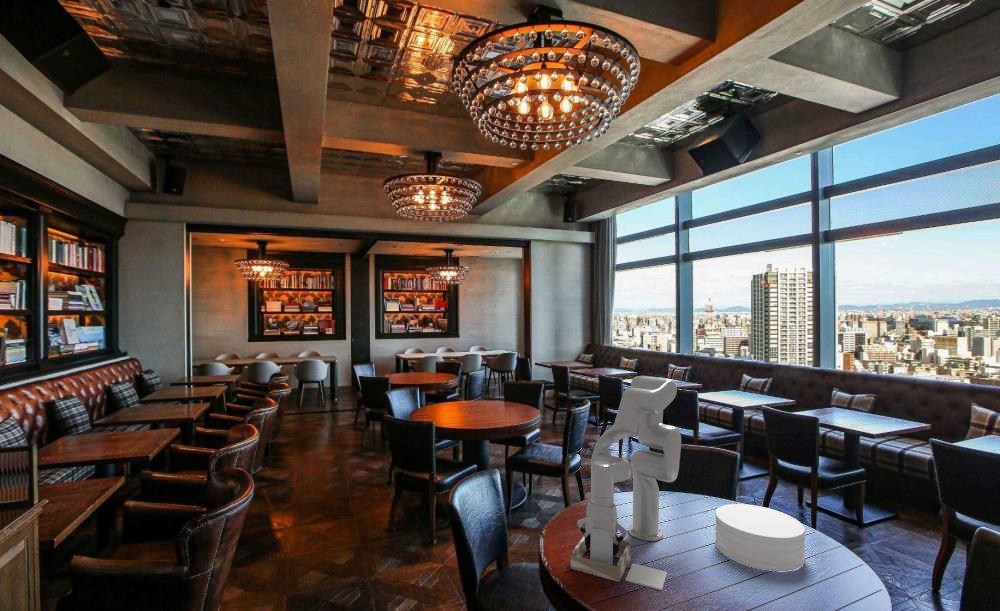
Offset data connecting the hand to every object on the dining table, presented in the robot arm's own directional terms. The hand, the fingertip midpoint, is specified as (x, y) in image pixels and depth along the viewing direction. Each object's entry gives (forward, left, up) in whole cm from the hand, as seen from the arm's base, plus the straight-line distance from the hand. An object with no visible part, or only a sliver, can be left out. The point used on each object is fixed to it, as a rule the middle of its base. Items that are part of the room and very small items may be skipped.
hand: (601, 550), depth 161 cm
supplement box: (0, 0, -4) cm, 4 cm away
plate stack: (-36, +47, -5) cm, 60 cm away
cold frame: (0, 0, -4) cm, 4 cm away
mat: (+1, +15, -4) cm, 16 cm away
